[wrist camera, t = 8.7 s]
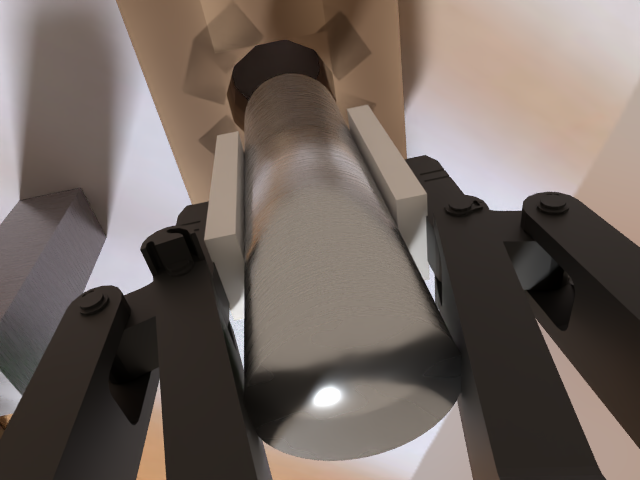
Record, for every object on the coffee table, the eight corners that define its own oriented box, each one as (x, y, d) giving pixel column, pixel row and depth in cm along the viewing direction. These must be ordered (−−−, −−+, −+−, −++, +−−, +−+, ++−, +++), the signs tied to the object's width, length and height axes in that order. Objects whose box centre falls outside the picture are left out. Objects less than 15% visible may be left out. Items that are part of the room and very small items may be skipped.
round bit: (257, 172, 21) (271, 477, 10) (233, 84, 19) (215, 346, 7) (344, 154, 21) (462, 435, 10) (331, 64, 19) (467, 293, 7)
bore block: (210, 189, 32) (204, 238, 27) (129, -51, 24) (99, -43, 19) (383, 153, 32) (408, 195, 27) (361, -97, 24) (392, -101, 19)
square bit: (49, 249, 32) (-55, 428, 21) (19, 200, 30) (-117, 371, 19) (106, 237, 33) (33, 408, 21) (80, 187, 30) (-18, 350, 19)
